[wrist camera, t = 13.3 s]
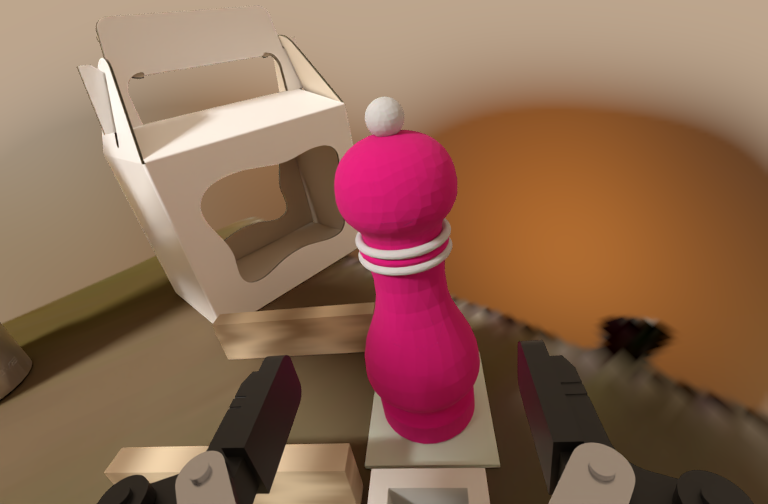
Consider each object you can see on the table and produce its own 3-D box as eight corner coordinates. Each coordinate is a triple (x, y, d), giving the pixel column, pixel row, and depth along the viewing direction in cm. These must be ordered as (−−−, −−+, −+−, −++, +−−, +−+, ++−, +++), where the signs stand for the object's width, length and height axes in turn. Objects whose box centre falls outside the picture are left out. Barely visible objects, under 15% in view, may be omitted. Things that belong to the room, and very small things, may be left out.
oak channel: (137, 510, 23) (103, 472, 21) (235, 347, 35) (219, 314, 33) (359, 513, 21) (344, 471, 19) (382, 338, 33) (374, 302, 31)
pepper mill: (391, 469, 22) (304, 125, 13) (368, 380, 29) (297, 105, 19) (502, 431, 23) (497, 85, 14) (456, 353, 30) (430, 78, 20)
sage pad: (365, 468, 23) (364, 465, 23) (379, 359, 31) (379, 357, 31) (500, 467, 22) (500, 464, 22) (479, 354, 30) (479, 351, 29)
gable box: (315, 221, 59) (258, 14, 46) (374, 239, 51) (325, -10, 37) (173, 294, 46) (36, 34, 33) (221, 334, 37) (61, 3, 24)
